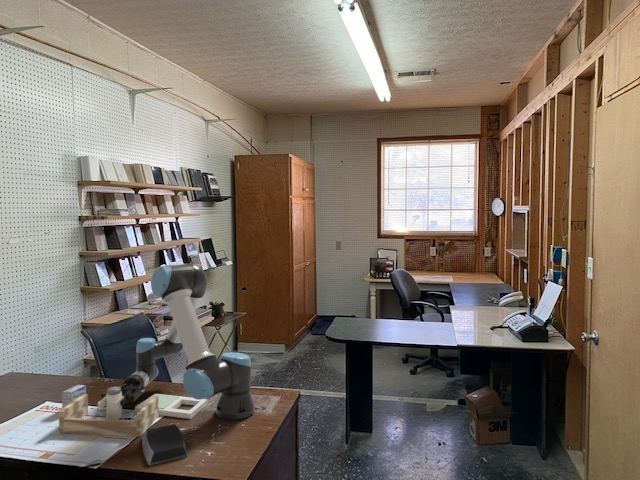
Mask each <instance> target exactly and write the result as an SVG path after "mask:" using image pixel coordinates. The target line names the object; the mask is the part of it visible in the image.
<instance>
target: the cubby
mask: <svg viewBox="0 0 640 480" xmlns="http://www.w3.org/2000/svg"><path fill="white" fill-rule="evenodd" d="M87 414H88V415H89V393H86V394H83V395H82V396H80V397H79V398H78V399H76V400H75V401H73V402H72V403H70V404H69V405H67V406H66V407H64V408H63V409H62V408H61V409H60V410H58V434H59V433H69V434H68V435H86V434H93V435H94V436H114V437H115V436H116V437H142V436H143V435H144V432H145V430H146V429H150V427H151V425H152V424H154V422H155V421H156V420H157V419H158V418H159V415H158V396H154V397H153V398H152V399H151V400H150V401H149V402H148V403H147V404H146V405H145V406H144V407H143V408H142V409H141V410H140V411H139V412H136V417H135V418H136V419H115V420H114V419H107V418H86V416H85V415H87ZM88 415H87V416H88ZM84 416H85V417H84ZM82 417H84V418H82ZM93 435H92V436H93Z"/></svg>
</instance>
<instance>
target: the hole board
mask: <svg viewBox="0 0 640 480" xmlns="http://www.w3.org/2000/svg"><path fill="white" fill-rule="evenodd" d="M154 396H158V416H163V417H164V416H165V417H171V418H173V417H174V418H179V419H190V420H192V419H193V418H194V417H195V416H196V415H197V414H199V412H201V411H202V408H203V409H204V408H205V407H206V406H207V405H208V404H209V402H208V398H204V399H200V400H198V399H194V398H193V397H191V396H190V397H187V396H182V395H181V396H179V395H171V394H170V395H169V394H161V393H154V394H153V395H151V396H149V397H148V398H147V399H145V400H143V401H142V402H140V403H138V404H137V405H135V406H134V413H138V412H139V411H140V410H141V409H142V408H143V407H144V406H145V405H146V404H147V403H148V402H149V401H150V400H151V399H152V398H153V397H154ZM182 405H188V406H193V407H192V408H191V409H181V408H179V407H180V406H182Z"/></svg>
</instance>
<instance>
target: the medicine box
mask: <svg viewBox="0 0 640 480" xmlns="http://www.w3.org/2000/svg"><path fill="white" fill-rule="evenodd" d="M83 394H87V386H86V385H83V384H75V385H74V386H72V387H69V388H68V389H67V388H66V389H65V390H64V391H61V409H63V408H64V407H66V406H67V405H69V404H70V403H72V402H73V401H75V400H76V399H78V398H79V397H80V396H82V395H83Z"/></svg>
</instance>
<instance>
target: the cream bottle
mask: <svg viewBox="0 0 640 480" xmlns="http://www.w3.org/2000/svg"><path fill="white" fill-rule="evenodd" d="M106 391H107V394H106V406H105V408H106V412H105V413H106V417H105V419H114V420H119V419H120V418H121V417H122V415H123V414H122V413H123V411H122V410H123V409H122V408H123V405H122V406H121V407H120V408H118V409H117V410H116V411H114V403H115V402H116V401H117V400H118V399H120V398H121V397H122V396H123V395H122V391H121V387H119V386H116V387H111V386H110V387H109V388H107V389H106Z"/></svg>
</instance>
